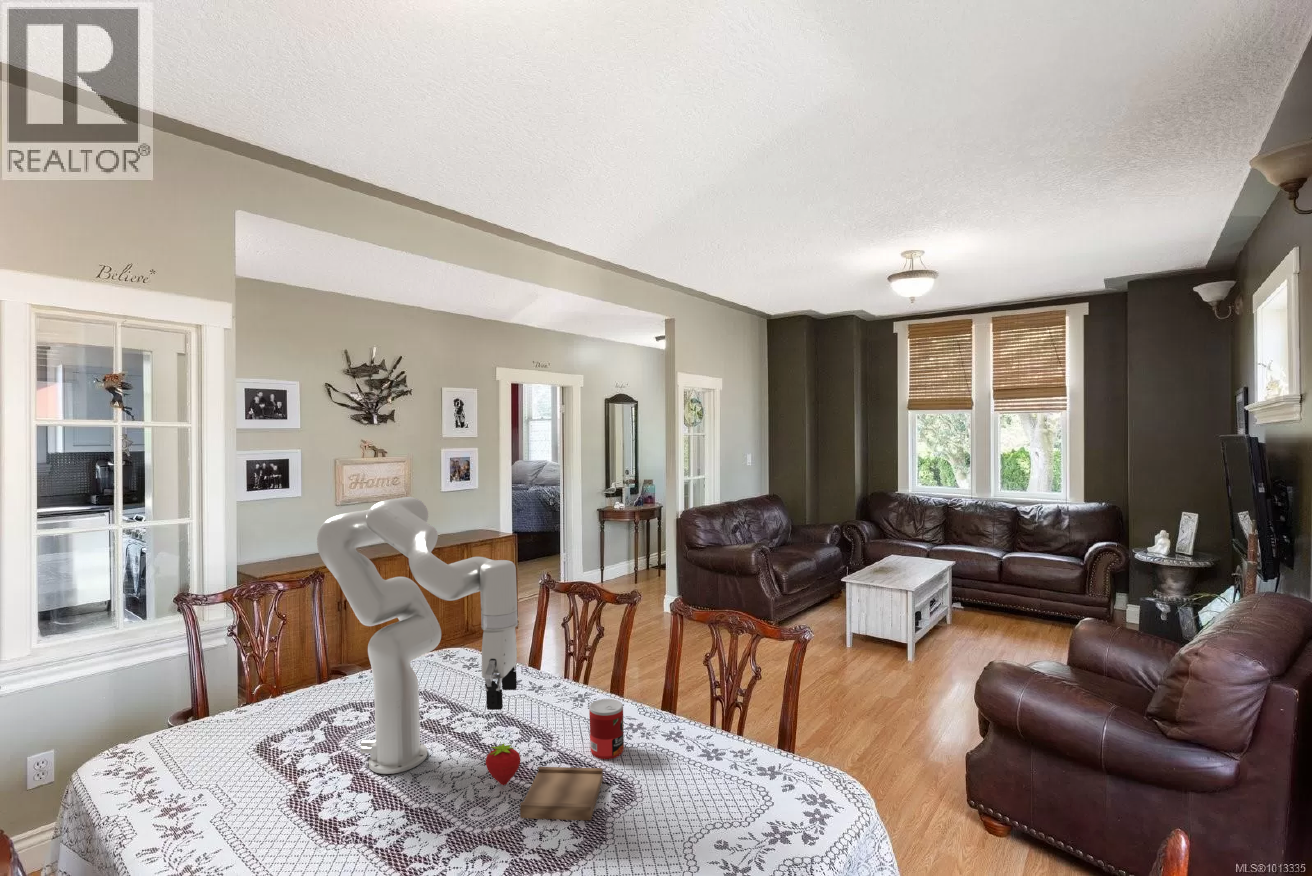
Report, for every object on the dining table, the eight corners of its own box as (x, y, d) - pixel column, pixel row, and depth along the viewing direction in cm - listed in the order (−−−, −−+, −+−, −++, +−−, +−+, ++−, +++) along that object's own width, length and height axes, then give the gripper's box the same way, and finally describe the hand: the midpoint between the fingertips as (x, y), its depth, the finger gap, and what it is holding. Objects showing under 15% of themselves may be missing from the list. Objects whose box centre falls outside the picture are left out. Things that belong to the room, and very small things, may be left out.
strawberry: (516, 794, 133) (515, 746, 132) (481, 792, 133) (480, 745, 133) (525, 778, 139) (523, 733, 138) (491, 777, 139) (490, 732, 139)
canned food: (619, 761, 145) (618, 714, 144) (585, 758, 146) (584, 711, 146) (627, 745, 152) (626, 699, 152) (595, 742, 154) (594, 697, 154)
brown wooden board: (520, 818, 124) (520, 805, 124) (539, 778, 138) (539, 766, 138) (590, 820, 123) (590, 807, 123) (602, 780, 137) (602, 768, 137)
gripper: (495, 608, 144) (498, 682, 145) (467, 632, 127) (470, 717, 127) (528, 607, 144) (530, 682, 144) (503, 632, 127) (506, 717, 127)
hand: (502, 699), depth 136 cm, fingers open, 9 cm apart
